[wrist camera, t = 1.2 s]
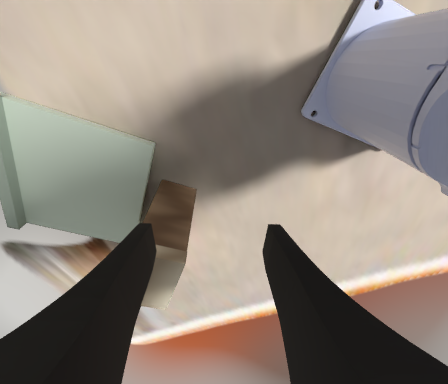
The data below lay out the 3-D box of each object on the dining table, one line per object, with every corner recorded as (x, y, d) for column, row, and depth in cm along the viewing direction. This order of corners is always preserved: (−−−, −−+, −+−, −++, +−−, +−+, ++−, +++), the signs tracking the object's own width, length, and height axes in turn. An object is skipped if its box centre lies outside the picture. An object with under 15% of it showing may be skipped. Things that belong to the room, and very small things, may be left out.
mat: (155, 143, 18) (150, 150, 16) (136, 240, 25) (130, 252, 23) (-5, 90, 15) (-29, 93, 14) (21, 215, 22) (7, 227, 21)
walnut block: (197, 189, 21) (185, 263, 13) (182, 230, 24) (165, 309, 16) (161, 178, 20) (128, 251, 13) (151, 222, 23) (119, 302, 16)
